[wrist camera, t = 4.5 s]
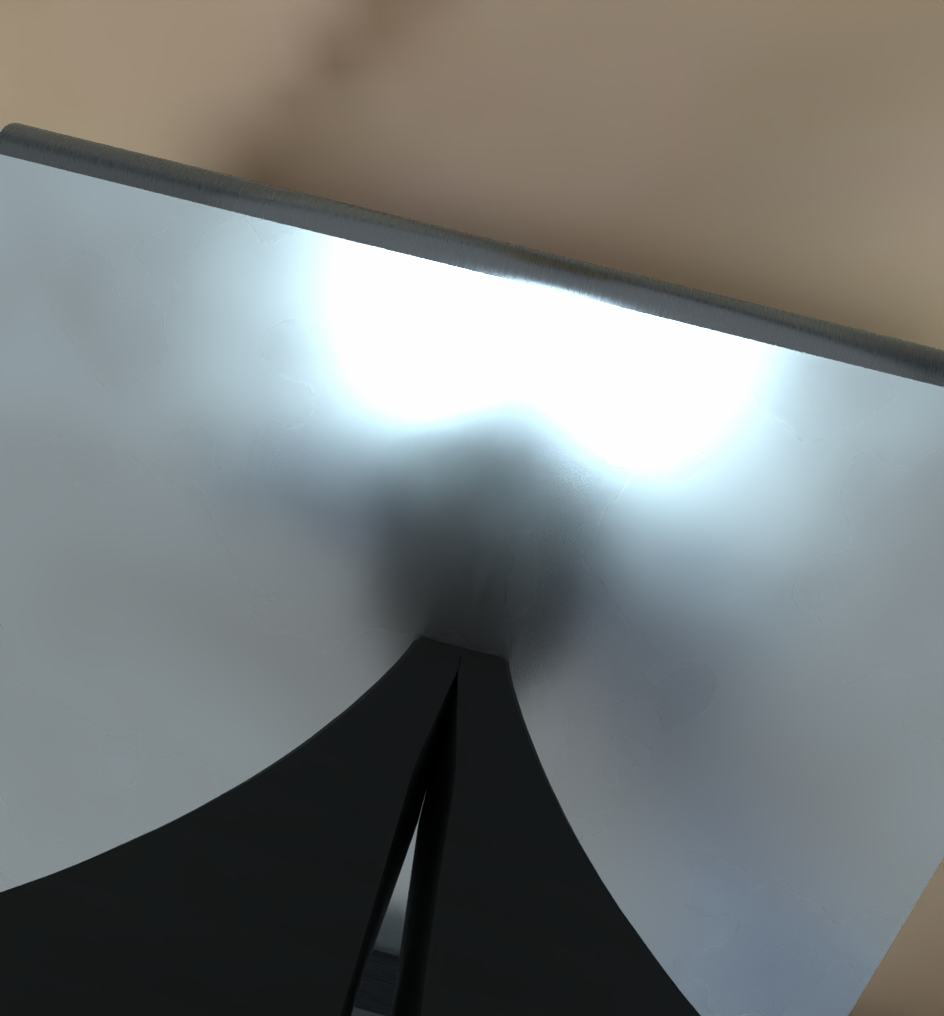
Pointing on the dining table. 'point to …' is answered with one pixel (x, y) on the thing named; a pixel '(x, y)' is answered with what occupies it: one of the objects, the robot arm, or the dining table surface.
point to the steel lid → (468, 550)
